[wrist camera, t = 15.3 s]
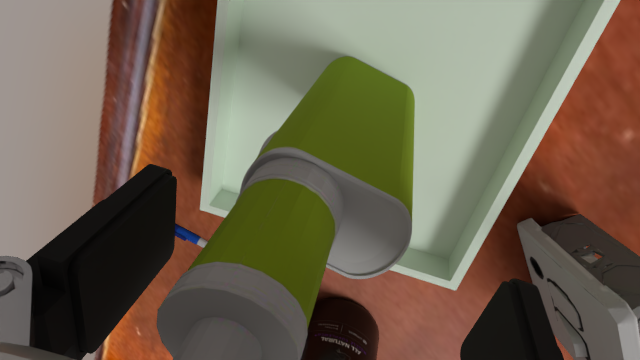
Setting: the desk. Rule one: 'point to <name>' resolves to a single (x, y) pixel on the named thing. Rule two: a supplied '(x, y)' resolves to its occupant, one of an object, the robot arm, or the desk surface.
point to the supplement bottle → (340, 332)
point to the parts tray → (429, 92)
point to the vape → (302, 221)
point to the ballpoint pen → (189, 236)
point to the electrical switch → (585, 287)
